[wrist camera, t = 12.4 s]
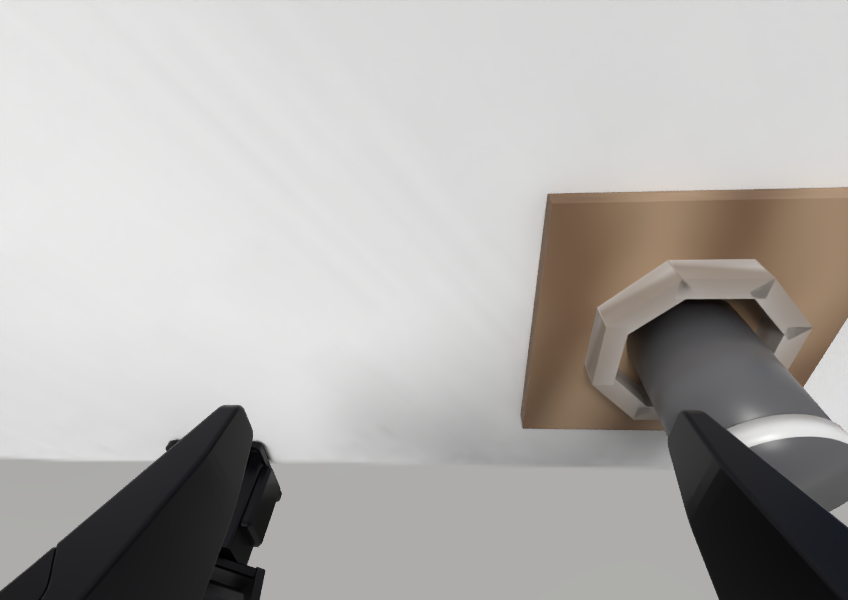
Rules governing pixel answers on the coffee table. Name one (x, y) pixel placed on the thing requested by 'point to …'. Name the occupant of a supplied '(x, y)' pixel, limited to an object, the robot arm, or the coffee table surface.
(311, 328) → the coffee table surface
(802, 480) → the lens cylinder
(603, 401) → the collar holder
